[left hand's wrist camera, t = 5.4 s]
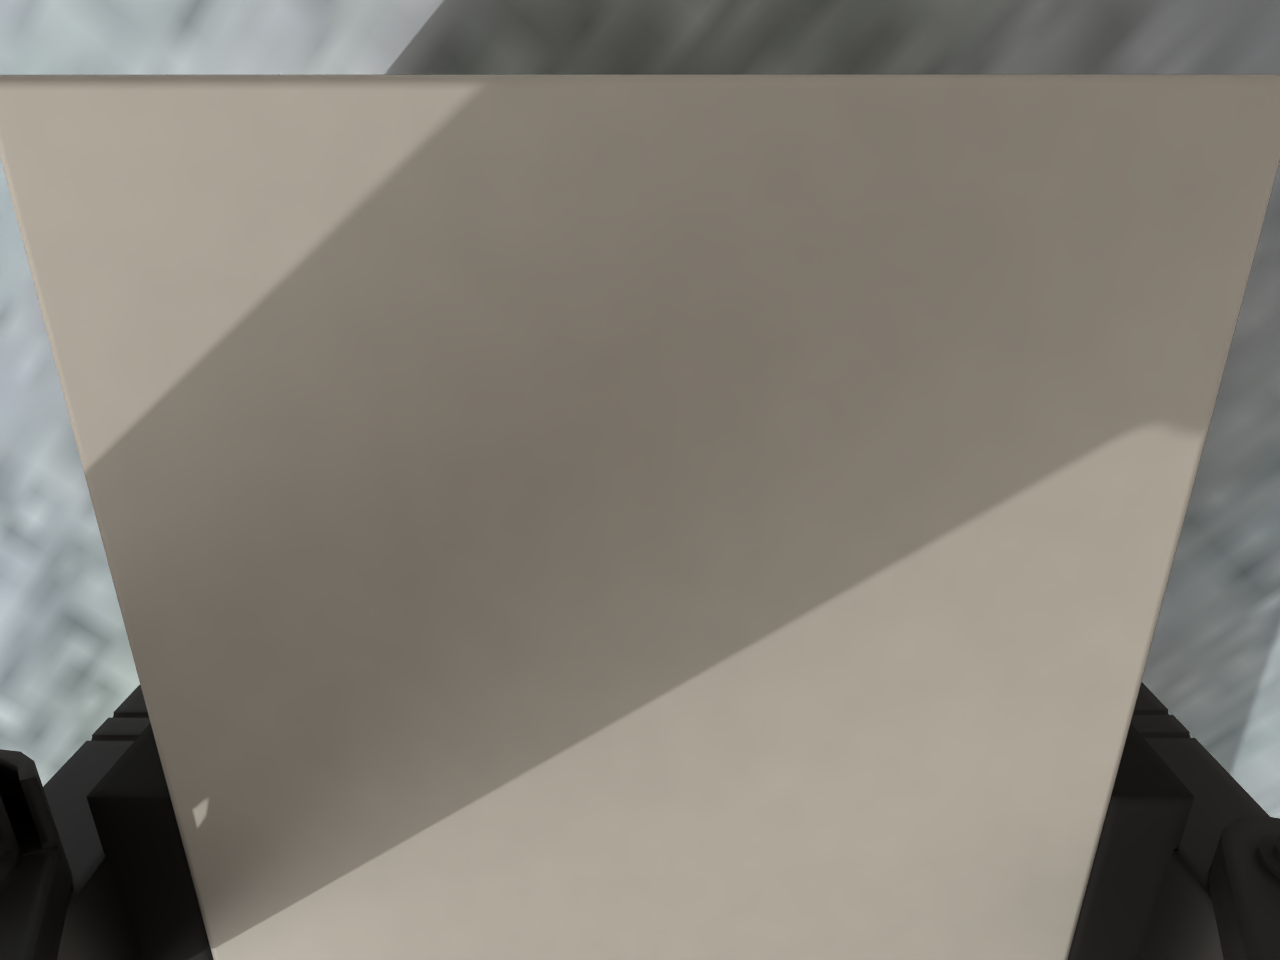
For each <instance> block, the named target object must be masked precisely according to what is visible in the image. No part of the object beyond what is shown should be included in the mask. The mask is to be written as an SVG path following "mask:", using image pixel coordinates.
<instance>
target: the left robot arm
mask: <svg viewBox="0 0 1280 960" xmlns="http://www.w3.org/2000/svg"><path fill="white" fill-rule="evenodd" d="M0 960H214V959H213V956H212V952H211V948H210V944H209V940H208V937H207V933H206V929H205V925H204V922H203V918H202V914H201V910H200V907H199V903H198V899H197V895H196V892H195V888H194V884H193V880H192V876H191V873H190V869H189V865H188V861H187V858H186V854H185V850H184V846H183V843H182V839H181V835H180V831H179V828H178V824H177V820H176V816H175V812H174V809H173V805H172V801H171V797H170V794H169V790H168V786H167V782H166V779H165V775H164V771H163V767H162V764H161V760H160V756H159V752H158V748H157V745H156V741H155V737H154V733H153V730H152V726H151V722H150V718H149V715H148V711H147V707H146V703H145V700H144V696H143V692H142V688H141V685H139V686H138V687H137V688H136V689H135V690H134V691H133V692H132V694H131V695H130V696H129V697H128V698H127V699H126V700H125V701H124V702H123V703H122V704H121V705H120V706H119V707H118V708H117V709H116V710H115V712H114V716H113V718H108V719H107V720H106V721H105V722H104V723H103V724H102V725H101V726H100V727H99V728H98V729H97V731H96V732H95V733H94V734H93V735H92V740H91V741H86V742H85V743H84V744H83V745H82V746H81V747H80V748H79V750H78V751H77V752H76V753H75V754H74V755H73V756H72V757H71V758H70V759H69V760H68V761H67V762H66V763H65V764H64V765H63V766H62V768H61V769H60V770H59V771H58V772H57V773H56V774H55V775H54V776H53V777H52V778H51V779H50V780H49V781H48V782H47V783H46V784H45V785H44V787H43V786H42V783H41V780H40V777H39V774H38V771H37V768H36V765H35V762H34V761H33V760H32V759H30V758H29V757H27V756H26V755H24V754H23V753H21V752H18V751H9V750H0ZM1068 960H1280V819H1279V818H1273V817H1270V816H1269V815H1268V814H1267V813H1266V812H1265V811H1264V810H1263V809H1262V808H1261V807H1260V806H1259V805H1258V804H1257V803H1256V802H1255V801H1254V799H1253V798H1252V797H1251V796H1250V795H1249V794H1248V793H1247V792H1246V791H1245V790H1244V789H1243V788H1242V787H1241V786H1240V785H1239V784H1238V783H1237V782H1236V781H1235V780H1234V778H1233V777H1232V776H1231V775H1230V774H1229V773H1228V772H1227V771H1226V770H1225V769H1224V768H1223V767H1222V766H1221V765H1220V764H1219V763H1218V762H1217V761H1216V760H1215V759H1214V757H1213V756H1212V755H1211V754H1210V753H1209V752H1208V751H1207V750H1206V749H1205V748H1204V747H1203V746H1202V745H1201V744H1200V743H1199V742H1198V741H1197V740H1196V739H1195V738H1190V735H1189V731H1188V730H1187V729H1186V728H1185V727H1184V726H1183V725H1182V724H1181V723H1180V722H1179V721H1178V720H1177V719H1176V718H1175V717H1174V716H1173V715H1169V714H1168V709H1167V708H1166V707H1165V706H1164V705H1163V704H1162V703H1161V702H1160V701H1159V700H1158V699H1157V698H1156V697H1155V696H1154V695H1153V693H1152V692H1151V691H1150V690H1149V689H1148V688H1147V687H1146V686H1145V685H1144V684H1143V683H1142V682H1141V685H1140V689H1139V693H1138V696H1137V700H1136V704H1135V708H1134V711H1133V715H1132V719H1131V723H1130V726H1129V730H1128V734H1127V738H1126V741H1125V745H1124V749H1123V753H1122V757H1121V760H1120V764H1119V768H1118V772H1117V775H1116V779H1115V783H1114V787H1113V790H1112V794H1111V798H1110V802H1109V805H1108V809H1107V813H1106V817H1105V821H1104V824H1103V828H1102V832H1101V836H1100V839H1099V843H1098V847H1097V851H1096V854H1095V858H1094V862H1093V866H1092V869H1091V873H1090V877H1089V881H1088V885H1087V888H1086V892H1085V896H1084V900H1083V903H1082V907H1081V911H1080V915H1079V918H1078V922H1077V926H1076V930H1075V934H1074V937H1073V941H1072V945H1071V949H1070V952H1069V956H1068Z"/></svg>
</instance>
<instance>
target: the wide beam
mask: <svg viewBox="0 0 1280 960" xmlns="http://www.w3.org/2000/svg"><path fill="white" fill-rule="evenodd" d="M0 157H1V161H2V165H3V169H4V172H5V176H6V180H7V184H8V187H9V191H10V195H11V199H12V203H13V206H14V210H15V214H16V218H17V221H18V225H19V229H20V233H21V236H22V240H23V244H24V248H25V251H26V255H27V259H28V263H29V267H30V270H31V274H32V278H33V282H34V285H35V289H36V293H37V297H38V300H39V304H40V308H41V312H42V315H43V319H44V323H45V327H46V331H47V334H48V338H49V342H50V346H51V349H52V353H53V357H54V361H55V364H56V368H57V372H58V376H59V380H60V383H61V387H62V391H63V395H64V398H65V402H66V406H67V410H68V413H69V417H70V421H71V425H72V428H73V432H74V436H75V440H76V444H77V447H78V451H79V455H80V459H81V462H82V466H83V470H84V474H85V477H86V481H87V485H88V489H89V492H90V496H91V500H92V504H93V508H94V511H95V515H96V519H97V523H98V526H99V530H100V534H101V538H102V541H103V545H104V549H105V553H106V556H107V560H108V564H109V568H110V572H111V575H112V579H113V583H114V587H115V590H116V594H117V598H118V602H119V605H120V609H121V613H122V617H123V620H124V624H125V628H126V632H127V636H128V639H129V643H130V647H131V651H132V654H133V658H134V662H135V666H136V669H137V673H138V677H139V681H140V684H141V688H142V692H143V696H144V700H145V703H146V707H147V711H148V715H149V718H150V722H151V726H152V730H153V733H154V737H155V741H156V745H157V748H158V752H159V756H160V760H161V764H162V767H163V771H164V775H165V779H166V782H167V786H168V790H169V794H170V797H171V801H172V805H173V809H174V812H175V816H176V820H177V824H178V828H179V831H180V835H181V839H182V843H183V846H184V850H185V854H186V858H187V861H188V865H189V869H190V873H191V876H192V880H193V884H194V888H195V892H196V895H197V899H198V903H199V907H200V910H201V914H202V918H203V922H204V925H205V929H206V933H207V937H208V940H209V944H210V948H211V952H212V956H213V959H214V960H1068V956H1069V952H1070V949H1071V945H1072V941H1073V937H1074V934H1075V930H1076V926H1077V922H1078V918H1079V915H1080V911H1081V907H1082V903H1083V900H1084V896H1085V892H1086V888H1087V885H1088V881H1089V877H1090V873H1091V869H1092V866H1093V862H1094V858H1095V854H1096V851H1097V847H1098V843H1099V839H1100V836H1101V832H1102V828H1103V824H1104V821H1105V817H1106V813H1107V809H1108V805H1109V802H1110V798H1111V794H1112V790H1113V787H1114V783H1115V779H1116V775H1117V772H1118V768H1119V764H1120V760H1121V757H1122V753H1123V749H1124V745H1125V741H1126V738H1127V734H1128V730H1129V726H1130V723H1131V719H1132V715H1133V711H1134V708H1135V704H1136V700H1137V696H1138V693H1139V689H1140V685H1141V681H1142V677H1143V674H1144V670H1145V666H1146V662H1147V659H1148V655H1149V651H1150V647H1151V644H1152V640H1153V636H1154V632H1155V628H1156V625H1157V621H1158V617H1159V613H1160V610H1161V606H1162V602H1163V598H1164V595H1165V591H1166V587H1167V583H1168V580H1169V576H1170V572H1171V568H1172V564H1173V561H1174V557H1175V553H1176V549H1177V546H1178V542H1179V538H1180V534H1181V531H1182V527H1183V523H1184V519H1185V516H1186V512H1187V508H1188V504H1189V500H1190V497H1191V493H1192V489H1193V485H1194V482H1195V478H1196V474H1197V470H1198V467H1199V463H1200V459H1201V455H1202V452H1203V448H1204V444H1205V440H1206V436H1207V433H1208V429H1209V425H1210V421H1211V418H1212V414H1213V410H1214V406H1215V403H1216V399H1217V395H1218V391H1219V388H1220V384H1221V380H1222V376H1223V372H1224V369H1225V365H1226V361H1227V357H1228V354H1229V350H1230V346H1231V342H1232V339H1233V335H1234V331H1235V327H1236V323H1237V320H1238V316H1239V312H1240V308H1241V305H1242V301H1243V297H1244V293H1245V290H1246V286H1247V282H1248V278H1249V275H1250V271H1251V267H1252V263H1253V259H1254V256H1255V252H1256V248H1257V244H1258V241H1259V237H1260V233H1261V229H1262V226H1263V222H1264V218H1265V214H1266V211H1267V207H1268V203H1269V199H1270V195H1271V192H1272V188H1273V184H1274V180H1275V177H1276V173H1277V169H1278V165H1279V162H1280V74H1013V75H0Z"/></svg>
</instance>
